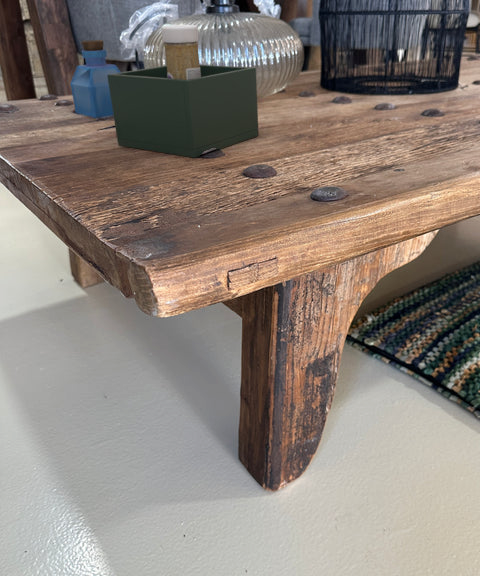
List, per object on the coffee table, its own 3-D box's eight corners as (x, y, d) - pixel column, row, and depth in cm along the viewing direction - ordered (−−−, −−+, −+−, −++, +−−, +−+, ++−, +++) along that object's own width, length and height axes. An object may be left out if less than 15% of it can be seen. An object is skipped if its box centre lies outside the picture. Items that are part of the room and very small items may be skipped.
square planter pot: (118, 145, 77) (106, 74, 72) (185, 126, 87) (179, 63, 82) (195, 158, 70) (187, 80, 66) (258, 135, 80) (256, 67, 76)
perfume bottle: (78, 125, 89) (62, 41, 83) (113, 119, 93) (100, 38, 87) (97, 130, 85) (82, 43, 80) (134, 124, 89) (122, 40, 83)
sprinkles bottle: (165, 134, 78) (153, 25, 71) (191, 128, 81) (181, 23, 74) (188, 138, 75) (176, 26, 69) (213, 132, 78) (205, 24, 72)
